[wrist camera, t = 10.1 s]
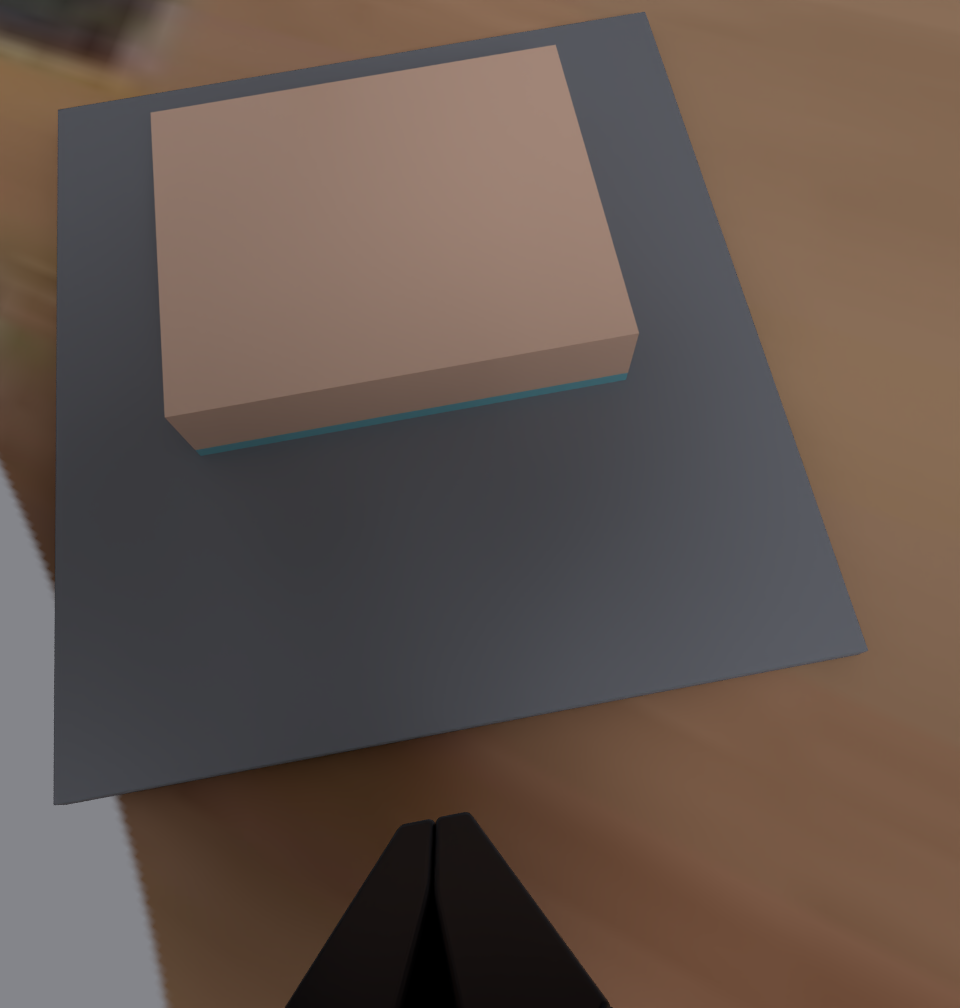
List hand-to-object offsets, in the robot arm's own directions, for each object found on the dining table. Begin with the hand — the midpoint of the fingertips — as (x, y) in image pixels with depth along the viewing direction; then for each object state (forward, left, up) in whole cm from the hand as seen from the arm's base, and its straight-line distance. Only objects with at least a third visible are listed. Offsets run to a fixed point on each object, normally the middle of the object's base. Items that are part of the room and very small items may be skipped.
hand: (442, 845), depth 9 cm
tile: (+9, +5, -9) cm, 13 cm away
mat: (+11, +6, -10) cm, 17 cm away
